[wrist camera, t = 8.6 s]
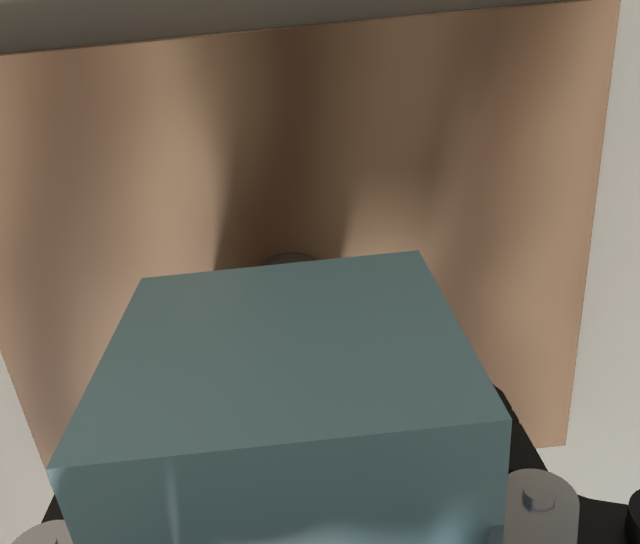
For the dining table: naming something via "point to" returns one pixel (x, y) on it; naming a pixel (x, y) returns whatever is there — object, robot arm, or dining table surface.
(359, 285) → the mini blue cabinet
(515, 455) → the robot arm
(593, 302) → the dining table surface
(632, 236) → the dining table surface
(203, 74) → the mounting plate
